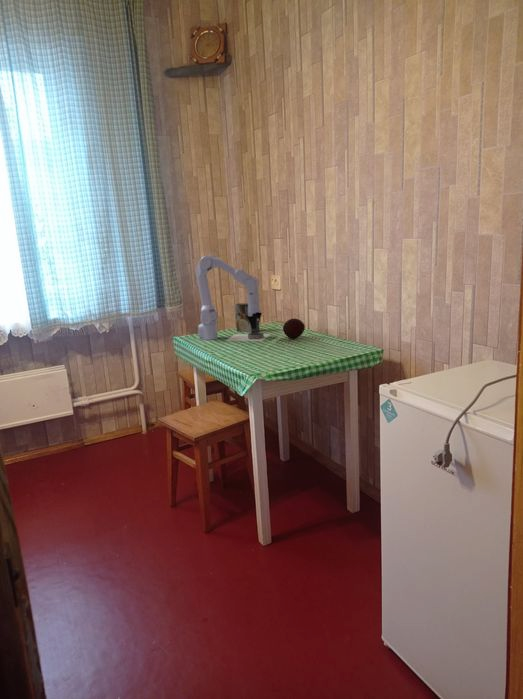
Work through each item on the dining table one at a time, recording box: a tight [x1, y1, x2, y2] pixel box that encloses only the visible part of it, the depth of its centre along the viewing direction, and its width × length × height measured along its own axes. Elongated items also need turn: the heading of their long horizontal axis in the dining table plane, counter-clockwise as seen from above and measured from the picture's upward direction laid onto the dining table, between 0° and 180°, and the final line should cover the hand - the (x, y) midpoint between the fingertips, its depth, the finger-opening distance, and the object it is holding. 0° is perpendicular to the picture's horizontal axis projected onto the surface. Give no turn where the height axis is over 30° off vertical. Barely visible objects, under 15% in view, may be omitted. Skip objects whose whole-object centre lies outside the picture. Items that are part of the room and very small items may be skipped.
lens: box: [250, 318, 261, 333], centre depth 263 cm, size 5×5×7 cm
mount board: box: [224, 331, 271, 342], centre depth 267 cm, size 20×16×3 cm
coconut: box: [282, 318, 306, 340], centre depth 261 cm, size 11×13×10 cm
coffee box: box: [234, 302, 251, 333], centre depth 284 cm, size 9×6×16 cm
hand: (255, 327), depth 264 cm, fingers closed on lens, 4 cm apart
